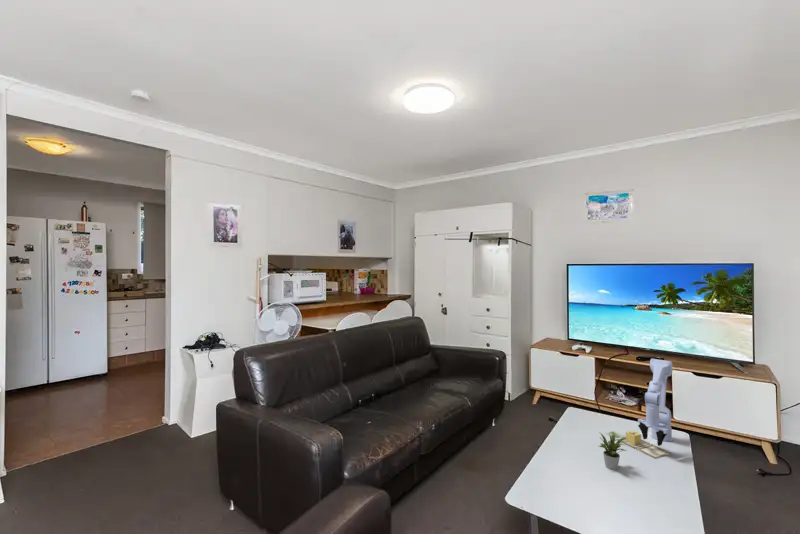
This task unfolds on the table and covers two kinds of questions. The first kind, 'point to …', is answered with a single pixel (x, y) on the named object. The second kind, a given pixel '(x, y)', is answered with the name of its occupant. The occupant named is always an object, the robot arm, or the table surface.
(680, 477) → the table surface
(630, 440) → the letter cube
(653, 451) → the organizer board
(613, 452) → the house plant
